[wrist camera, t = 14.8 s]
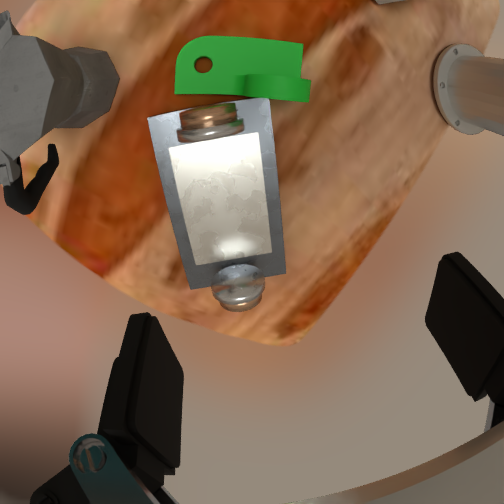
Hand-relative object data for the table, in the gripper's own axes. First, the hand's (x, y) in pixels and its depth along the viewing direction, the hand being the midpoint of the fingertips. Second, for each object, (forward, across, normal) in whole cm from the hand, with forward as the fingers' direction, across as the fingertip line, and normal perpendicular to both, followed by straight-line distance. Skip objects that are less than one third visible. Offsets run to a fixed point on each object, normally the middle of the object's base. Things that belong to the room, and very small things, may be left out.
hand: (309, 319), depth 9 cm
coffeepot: (+26, +16, -10) cm, 32 cm away
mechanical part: (+26, 0, -8) cm, 28 cm away
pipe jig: (+26, +4, +6) cm, 26 cm away
